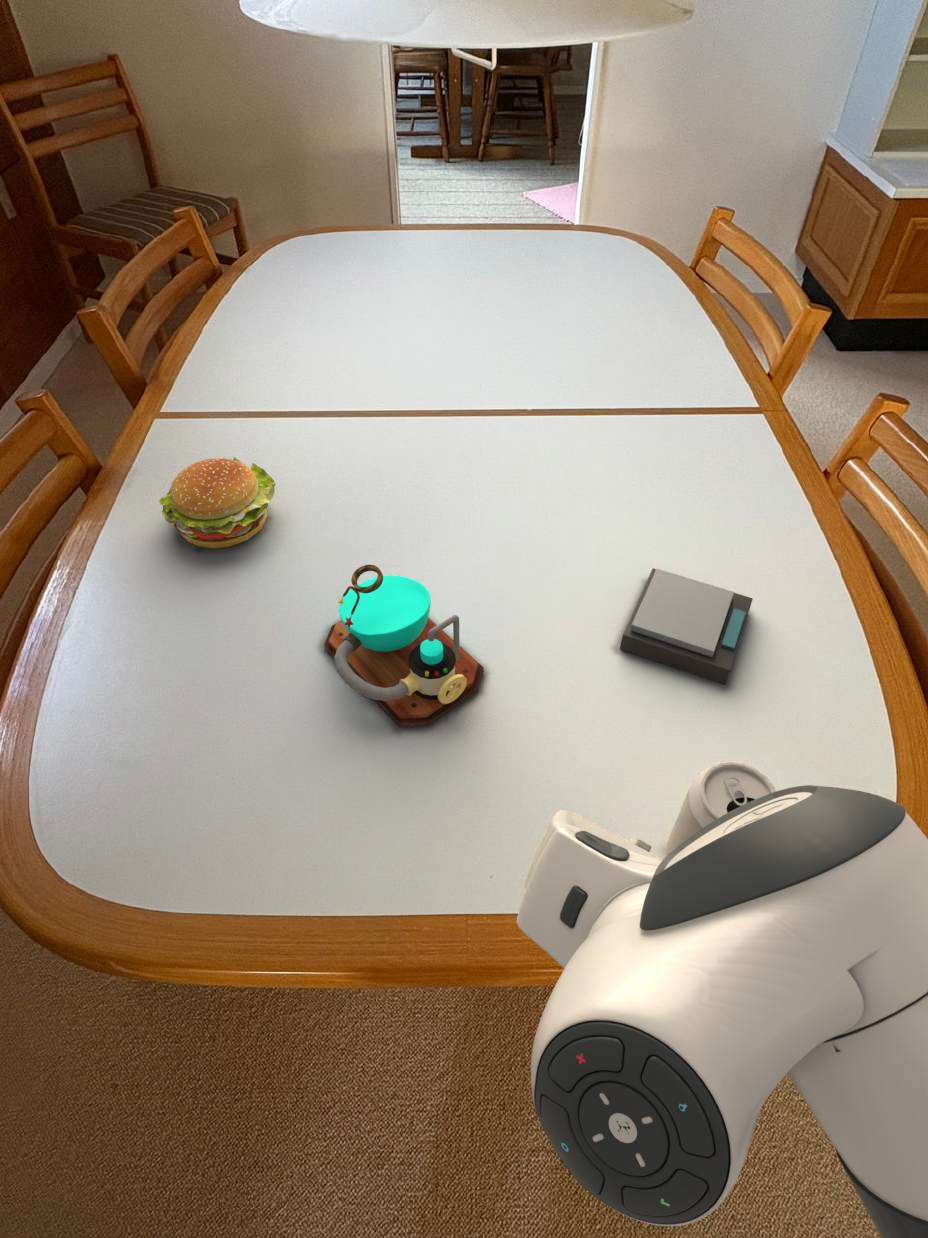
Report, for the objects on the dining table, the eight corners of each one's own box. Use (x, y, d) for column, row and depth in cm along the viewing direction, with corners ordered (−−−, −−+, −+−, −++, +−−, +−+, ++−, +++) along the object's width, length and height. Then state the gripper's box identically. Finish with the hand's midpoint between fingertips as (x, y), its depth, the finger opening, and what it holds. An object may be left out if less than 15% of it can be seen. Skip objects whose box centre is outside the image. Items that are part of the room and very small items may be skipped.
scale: (747, 612, 93) (755, 591, 91) (724, 685, 86) (732, 664, 83) (649, 582, 97) (654, 561, 94) (619, 649, 89) (623, 628, 87)
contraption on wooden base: (392, 752, 80) (380, 657, 69) (297, 649, 89) (273, 551, 78) (495, 681, 86) (499, 584, 75) (396, 592, 95) (387, 494, 84)
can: (687, 909, 69) (720, 846, 60) (651, 833, 74) (676, 765, 65) (763, 887, 70) (806, 822, 62) (723, 814, 75) (757, 744, 66)
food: (219, 573, 98) (204, 524, 92) (151, 527, 104) (132, 478, 98) (301, 517, 105) (291, 468, 99) (232, 477, 111) (219, 429, 105)
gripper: (912, 1018, 37) (878, 924, 50) (532, 813, 44) (587, 776, 57) (855, 1131, 38) (835, 1009, 51) (490, 910, 45) (554, 853, 58)
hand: (701, 884), depth 54 cm, fingers open, 8 cm apart
